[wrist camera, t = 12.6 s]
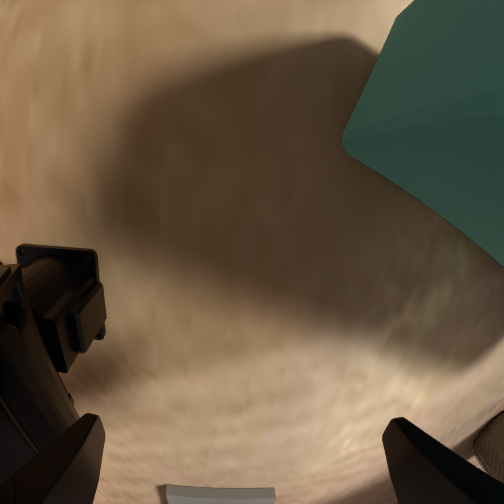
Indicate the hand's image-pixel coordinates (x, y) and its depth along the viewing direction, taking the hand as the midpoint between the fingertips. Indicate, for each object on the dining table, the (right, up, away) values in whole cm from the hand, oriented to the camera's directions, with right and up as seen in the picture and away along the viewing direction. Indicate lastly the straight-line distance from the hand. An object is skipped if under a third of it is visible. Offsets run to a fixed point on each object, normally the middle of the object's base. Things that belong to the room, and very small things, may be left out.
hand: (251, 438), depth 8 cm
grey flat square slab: (-4, -26, +21) cm, 34 cm away
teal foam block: (+20, +10, +11) cm, 25 cm away
